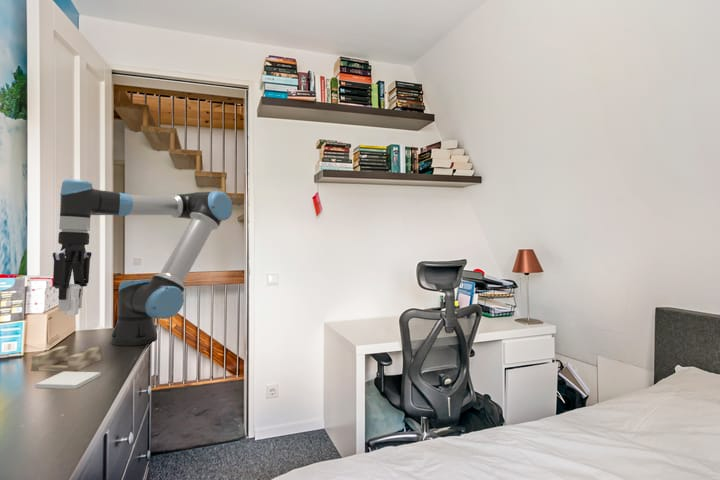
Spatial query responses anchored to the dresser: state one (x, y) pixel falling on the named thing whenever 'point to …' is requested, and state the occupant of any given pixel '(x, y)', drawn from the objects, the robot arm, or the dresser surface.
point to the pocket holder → (64, 359)
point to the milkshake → (74, 299)
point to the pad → (68, 380)
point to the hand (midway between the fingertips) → (70, 309)
